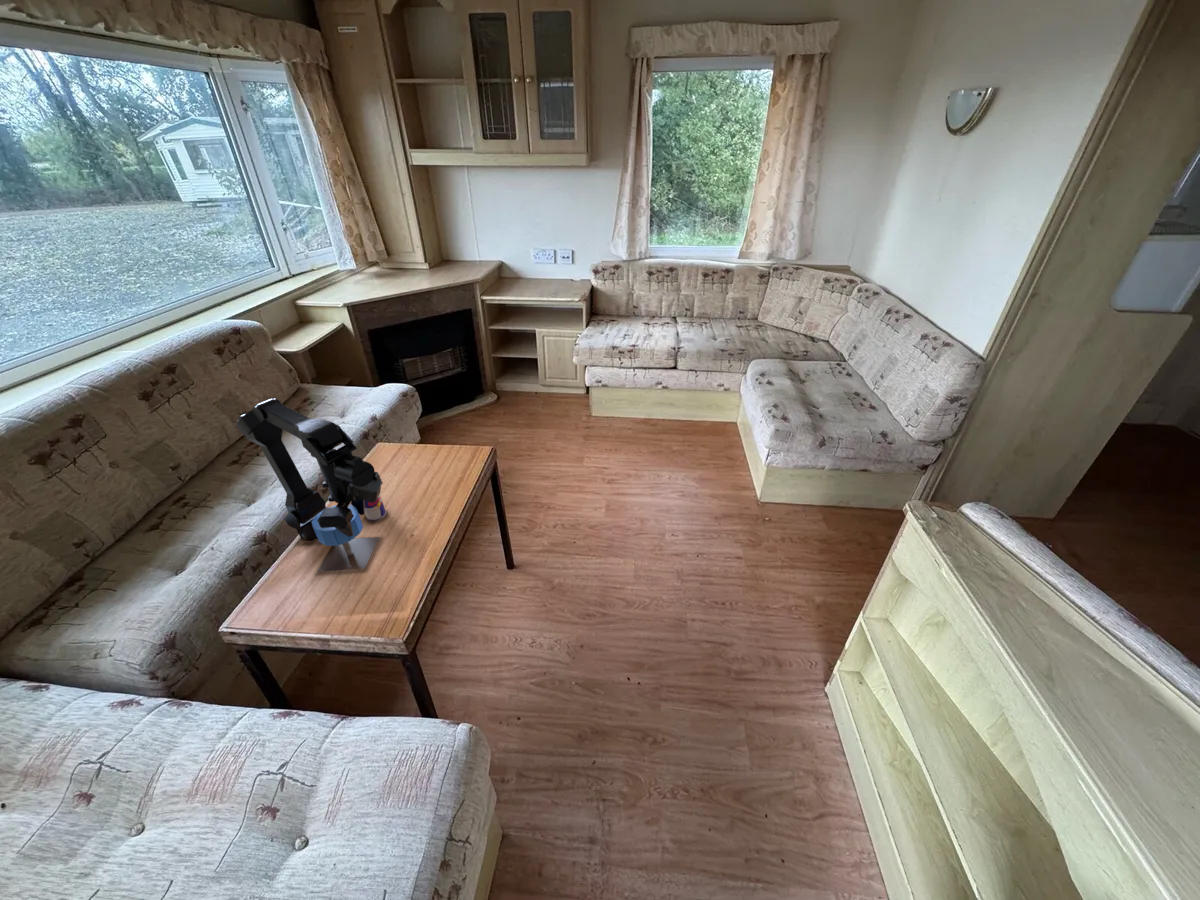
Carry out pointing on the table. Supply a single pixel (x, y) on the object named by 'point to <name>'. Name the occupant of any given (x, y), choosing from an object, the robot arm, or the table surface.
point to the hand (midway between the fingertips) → (356, 524)
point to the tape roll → (334, 535)
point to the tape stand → (349, 555)
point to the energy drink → (374, 509)
